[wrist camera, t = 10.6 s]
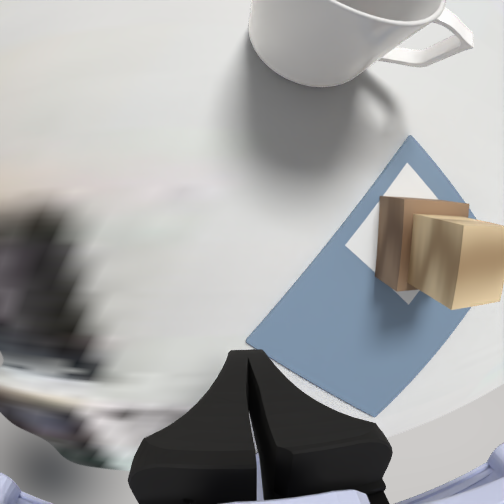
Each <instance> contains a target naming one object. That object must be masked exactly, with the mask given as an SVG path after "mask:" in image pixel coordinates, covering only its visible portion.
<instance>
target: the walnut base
mask: <svg viewBox="0 0 504 504" xmlns="http://www.w3.org/2000/svg"><path fill="white" fill-rule="evenodd" d="M413 214H426V215H445V216H462V217H467V218H468V216H469V204H467V203H460V202H453V201H446V200H437V199H424V198H409V197H392V196H380V201H379V226H378V243H377V257H376V268H375V277H376V278H378V279H379V280H381V281H382V282H384V283H385V284H386V285H388V286H389V287H391V288H392V289H394V290H395V291H397V292H398V291H409V290H419V289H417V288H415V287H414V286H412V285H410V284H409V283H407V279H408V271H409V262H410V252H411V242H412V229H413Z"/></svg>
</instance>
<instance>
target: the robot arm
mask: <svg viewBox="0 0 504 504" xmlns="http://www.w3.org/2000/svg"><path fill="white" fill-rule="evenodd" d="M249 413H250V418H251V422H252V427H253V431H254V436H255V440H256V445H257V449H258V453H257V454H255V448H254V443H253V437H252V432H251V426H250V419H249ZM391 457H392V447H391V445H390V443H389V442H388V440H387V438H386V437H385V435H384V434H383V432H382V431H381V430H380V429H379V427H378V426H377V425H376V423H373V422H369V421H365V420H361V419H358V418H354V417H351V416H348V415H345V414H343V413H340V412H338V411H335V410H333V409H331V408H329V407H327V406H325V405H323V404H321V403H319V402H318V401H316V400H314V399H313V398H311V397H310V396H308V395H307V394H305V393H304V392H302V391H301V390H300V389H299V388H297V387H296V386H295V385H294V384H293V383H292V382H291V381H289V380H288V379H287V378H286V377H285V376H284V375H283V374H282V372H281V371H280V370H279V369H278V368H277V367H276V366H275V365H274V363H273V362H272V361H271V360H270V358H269V357H268V356H267V354H266V353H265V351H263V350H262V349H256V350H231V351H230V352H229V353H228V357H227V359H226V362H225V364H224V366H223V368H222V370H221V372H220V373H219V375H218V377H217V379H216V380H215V381H214V383H213V384H212V386H211V387H210V389H209V390H208V391H207V393H206V394H205V395H204V396H203V397H202V398H201V399H200V401H199V402H198V403H197V404H196V405H195V406H194V407H193V408H191V409H190V410H189V411H188V412H187V413H186V414H185V415H183V416H182V417H181V418H179V419H178V420H177V421H175V422H174V423H172V424H171V425H169V426H168V427H166V428H164V429H162V430H160V431H158V432H156V433H154V434H152V435H150V436H148V437H146V438H144V439H143V440H142V442H141V444H140V446H139V448H138V450H137V452H136V454H135V456H134V459H133V462H132V466H131V470H130V474H129V478H128V482H129V486H130V488H131V490H132V492H133V494H134V496H135V498H136V499H137V501H138V503H139V504H389V502H388V500H387V498H386V495H385V493H384V490H385V489H386V486H385V483H384V481H383V480H382V477H383V475H384V473H385V471H386V469H387V467H388V465H389V462H390V460H391ZM0 504H53V503H50V502H47V501H45V500H42V499H39V498H37V497H34V496H32V495H29V494H27V493H24V492H22V491H21V490H20V488H19V487H18V485H17V484H16V483H15V482H14V481H13V480H12V479H11V478H10V477H8V476H7V475H5V474H3V473H1V472H0ZM395 504H504V443H502V444H501V445H499V446H498V447H497V448H496V449H495V450H494V452H492V454H491V455H490V457H489V459H488V461H487V462H486V463H484V464H483V465H481V466H479V467H477V468H475V469H473V470H472V471H470V472H468V473H466V474H464V475H462V476H460V477H458V478H456V479H454V480H452V481H450V482H447V483H445V484H443V485H441V486H439V487H436V488H434V489H432V490H429V491H427V492H424V493H422V494H419V495H417V496H414V497H412V498H409V499H406V500H404V501H401V502H398V503H395Z"/></svg>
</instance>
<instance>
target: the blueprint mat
mask: <svg viewBox="0 0 504 504" xmlns="http://www.w3.org/2000/svg"><path fill="white" fill-rule="evenodd" d="M380 196H392V197H409V198H424V199H437V200H446V201H453V202H460V203H465V202H464V200H463V199H462V197H461V196H460V195H459V193H458V192H457V191H456V189H455V188H454V186H453V185H452V184H451V183H450V181H449V180H448V179H447V177H446V176H445V175H444V173H443V172H442V171H441V170H440V168H439V167H438V166H437V165H436V163H435V162H434V161H433V160H432V159H431V157H430V156H429V155H428V154H427V153H426V151H425V150H424V149H423V148H422V147H421V146H420V144H419V143H418V142H417V141H416V140H415V139H414V138H413V137H412V135H410V136H408V137H407V139H406V140H405V141H404V143H403V144H402V146H401V147H400V148H399V150H398V151H397V153H396V154H395V155H394V157H393V158H392V160H391V161H390V162H389V164H388V165H387V166H386V168H385V169H384V170H383V172H382V173H381V174H380V176H379V177H378V178H377V180H376V181H375V182H374V184H373V185H372V186H371V188H370V189H369V190H368V192H367V193H366V194H365V196H364V197H363V198H362V200H361V201H360V202H359V204H358V205H357V206H356V207H355V209H354V210H353V211H352V213H351V214H350V215H349V216H348V218H347V219H346V220H345V222H344V223H343V224H342V225H341V227H340V228H339V229H338V230H337V232H336V233H335V234H334V236H333V237H332V238H331V239H330V241H329V242H328V243H327V244H326V246H325V247H324V248H323V249H322V250H321V252H320V253H319V254H318V255H317V257H316V258H315V259H314V260H313V262H312V263H311V264H310V265H309V266H308V268H307V269H306V270H305V271H304V272H303V274H302V275H301V276H300V277H299V278H298V280H297V281H296V282H295V283H294V284H293V286H292V287H291V288H290V289H289V290H288V292H287V293H286V294H285V295H284V296H283V298H282V299H281V300H280V301H279V302H278V303H277V305H276V306H275V307H274V308H273V309H272V310H271V312H270V313H269V314H268V315H267V316H266V317H265V318H264V320H263V321H262V322H261V323H260V324H259V325H258V326H257V328H256V329H255V330H254V331H253V332H252V333H251V334H250V336H249V337H248V338H247V339H246V342H247V343H248V344H250V345H251V346H253V347H254V348H256V349H262V350H263V351H265V353H266V354H267V356H269V357H270V358H272V359H273V360H275V361H277V362H278V363H280V364H282V365H283V366H285V367H286V368H288V369H290V370H291V371H293V372H295V373H296V374H298V375H300V376H301V377H303V378H305V379H306V380H308V381H310V382H312V383H313V384H315V385H317V386H319V387H320V388H322V389H324V390H325V391H327V392H329V393H331V394H333V395H334V396H336V397H338V398H340V399H342V400H343V401H345V402H347V403H349V404H351V405H352V406H354V407H356V408H358V409H360V410H362V411H364V412H366V413H367V414H369V415H371V416H373V417H376V416H377V415H378V414H379V413H380V412H381V411H382V410H383V409H384V408H386V407H387V406H388V405H389V404H390V403H391V402H392V401H393V400H394V399H395V398H396V397H397V396H398V395H399V394H400V393H401V392H402V390H403V389H404V388H405V387H406V386H407V385H408V384H409V383H410V382H411V381H412V380H413V379H414V378H415V377H416V376H417V374H418V373H419V372H420V371H421V370H422V369H423V368H424V367H425V365H426V364H427V363H428V362H429V361H430V360H431V358H432V357H433V356H434V355H435V354H436V352H437V351H438V350H439V349H440V348H441V346H442V345H443V344H444V343H445V341H446V340H447V339H448V338H449V336H450V335H451V334H452V332H453V331H454V330H455V328H456V327H457V326H458V324H459V323H460V322H461V320H462V319H463V318H464V316H465V315H466V313H467V312H468V311H469V309H470V308H471V307H467V308H461V309H455V310H450V309H449V308H447V307H446V306H444V305H443V304H441V303H439V302H438V301H436V300H435V299H433V298H432V297H430V296H428V295H427V294H425V293H423V292H422V291H420V290H409V291H398V292H397V291H395V290H394V289H392V288H391V287H389V286H388V285H386V284H385V283H384V282H382V281H381V280H379V279H378V278H376V277H375V268H376V257H377V243H378V226H379V201H380ZM468 218H471V219H476V218H475V216H474V215H473V213H472V212H471V210H470V209H469V216H468ZM476 220H477V219H476Z"/></svg>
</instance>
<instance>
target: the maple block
mask: <svg viewBox="0 0 504 504" xmlns="http://www.w3.org/2000/svg"><path fill="white" fill-rule="evenodd" d="M407 283H409V284H410V285H412V286H414V287H415V288H417V289H419V290H420V291H422V292H423V293H425V294H427V295H428V296H430V297H432V298H433V299H435V300H436V301H438V302H439V303H441V304H443V305H444V306H446V307H447V308H449V309H450V310H455V309H461V308H467V307H473V306H478V305H483V304H489V303H494V302H499V301H500V298H501V294H502V289H503V284H504V226H502V225H498V224H494V223H490V222H485V221H481V220H476V219H471V218H467V217H462V216H445V215H426V214H413V229H412V242H411V252H410V262H409V271H408V279H407Z"/></svg>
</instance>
